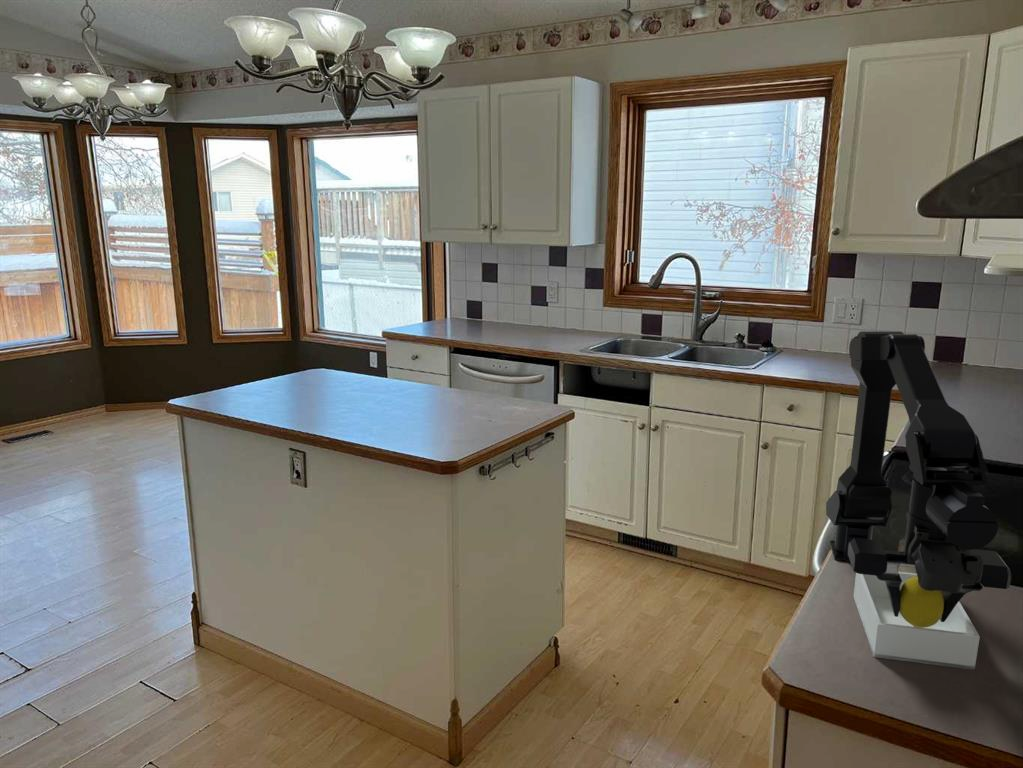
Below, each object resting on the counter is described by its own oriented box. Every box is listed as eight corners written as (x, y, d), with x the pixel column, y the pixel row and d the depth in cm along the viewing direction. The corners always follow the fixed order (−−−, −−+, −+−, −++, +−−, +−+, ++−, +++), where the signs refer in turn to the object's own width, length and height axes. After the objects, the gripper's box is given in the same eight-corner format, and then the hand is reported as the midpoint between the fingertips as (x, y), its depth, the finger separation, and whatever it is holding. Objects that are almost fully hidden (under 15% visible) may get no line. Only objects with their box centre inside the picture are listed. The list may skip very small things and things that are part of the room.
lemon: (946, 641, 100) (953, 588, 98) (901, 637, 102) (908, 585, 100) (932, 618, 106) (939, 568, 104) (890, 615, 107) (896, 565, 105)
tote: (853, 596, 116) (856, 567, 115) (940, 605, 113) (944, 576, 112) (873, 656, 102) (877, 624, 100) (974, 669, 98) (979, 636, 97)
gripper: (867, 533, 94) (855, 642, 98) (1036, 549, 89) (1016, 662, 93) (852, 498, 104) (842, 598, 108) (1003, 510, 100) (986, 614, 104)
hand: (918, 617), depth 103 cm, fingers closed on lemon, 5 cm apart
